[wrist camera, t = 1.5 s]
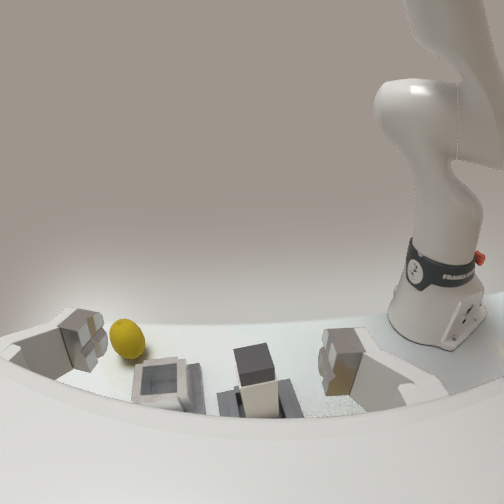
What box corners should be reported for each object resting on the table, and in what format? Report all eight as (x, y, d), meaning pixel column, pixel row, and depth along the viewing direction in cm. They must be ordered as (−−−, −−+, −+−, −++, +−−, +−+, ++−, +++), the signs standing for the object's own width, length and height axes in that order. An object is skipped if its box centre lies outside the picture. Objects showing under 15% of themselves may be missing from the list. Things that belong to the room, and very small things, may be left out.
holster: (289, 382, 36) (289, 365, 34) (311, 442, 27) (314, 429, 25) (218, 396, 34) (212, 380, 32) (228, 460, 26) (222, 449, 24)
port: (200, 367, 39) (194, 347, 37) (206, 423, 30) (198, 406, 28) (139, 374, 38) (128, 355, 36) (134, 428, 29) (120, 411, 27)
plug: (272, 402, 32) (267, 340, 26) (279, 425, 29) (277, 368, 23) (244, 408, 31) (231, 348, 26) (249, 431, 28) (236, 376, 23)
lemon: (131, 342, 44) (115, 307, 41) (156, 348, 43) (141, 312, 39) (115, 363, 40) (96, 329, 36) (141, 372, 38) (122, 336, 35)
